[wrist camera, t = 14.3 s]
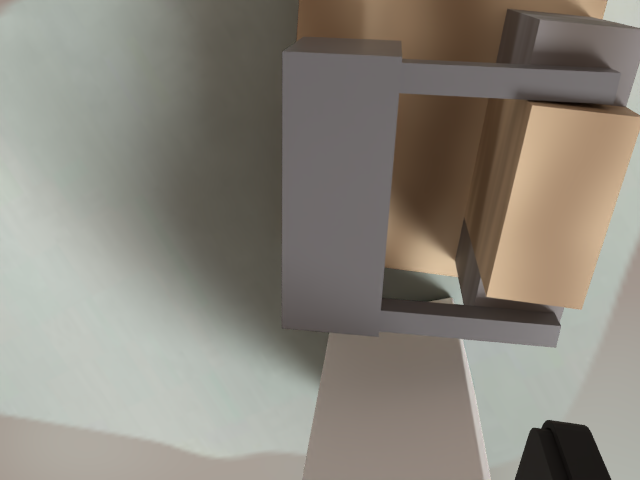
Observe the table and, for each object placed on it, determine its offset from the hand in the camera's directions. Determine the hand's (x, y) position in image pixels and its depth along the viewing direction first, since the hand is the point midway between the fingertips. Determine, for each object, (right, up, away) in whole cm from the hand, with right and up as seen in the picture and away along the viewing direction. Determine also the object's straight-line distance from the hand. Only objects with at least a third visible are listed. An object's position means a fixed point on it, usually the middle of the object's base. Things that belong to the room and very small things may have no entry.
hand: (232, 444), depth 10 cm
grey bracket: (+6, +6, +16) cm, 19 cm away
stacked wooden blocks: (+7, +9, +20) cm, 23 cm away
